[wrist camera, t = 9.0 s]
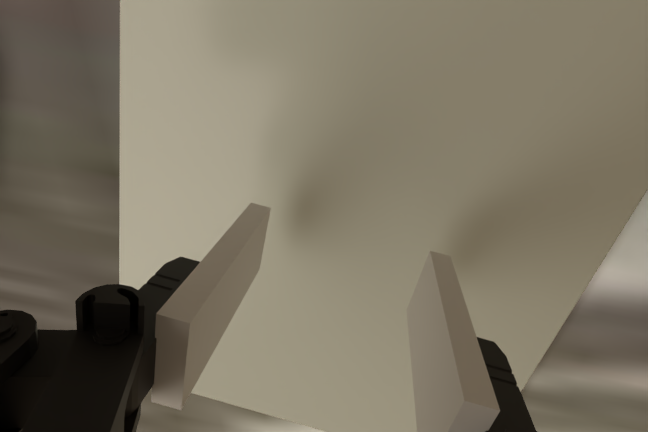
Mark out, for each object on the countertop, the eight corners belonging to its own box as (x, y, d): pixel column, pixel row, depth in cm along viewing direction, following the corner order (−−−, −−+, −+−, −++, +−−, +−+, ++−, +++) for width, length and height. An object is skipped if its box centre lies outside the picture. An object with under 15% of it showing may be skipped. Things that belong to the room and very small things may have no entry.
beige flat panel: (142, -179, 13) (120, -199, 12) (754, -34, 12) (791, -42, 11) (131, 356, 23) (119, 371, 22) (466, 451, 22) (470, 472, 21)
